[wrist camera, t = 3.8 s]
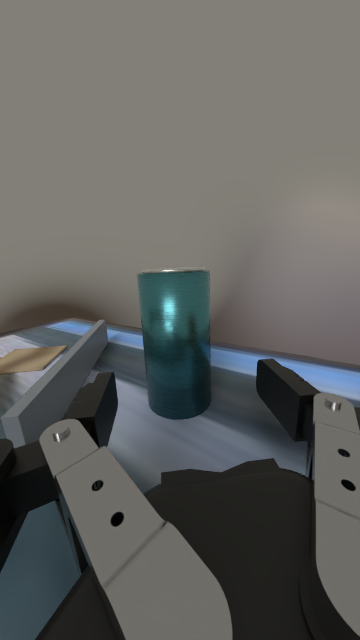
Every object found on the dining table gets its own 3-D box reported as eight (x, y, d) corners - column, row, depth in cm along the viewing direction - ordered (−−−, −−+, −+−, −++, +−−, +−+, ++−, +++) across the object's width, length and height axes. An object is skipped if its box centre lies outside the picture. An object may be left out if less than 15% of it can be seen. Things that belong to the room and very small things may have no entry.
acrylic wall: (16, 469, 14) (0, 418, 13) (102, 342, 37) (99, 320, 36) (31, 467, 14) (17, 416, 13) (108, 342, 37) (105, 319, 36)
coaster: (-24, 375, 27) (-25, 373, 27) (15, 351, 35) (15, 349, 35) (42, 370, 28) (42, 367, 28) (66, 347, 36) (66, 345, 36)
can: (147, 423, 18) (132, 271, 15) (149, 384, 24) (139, 269, 21) (218, 415, 19) (218, 267, 15) (203, 379, 24) (201, 266, 21)
